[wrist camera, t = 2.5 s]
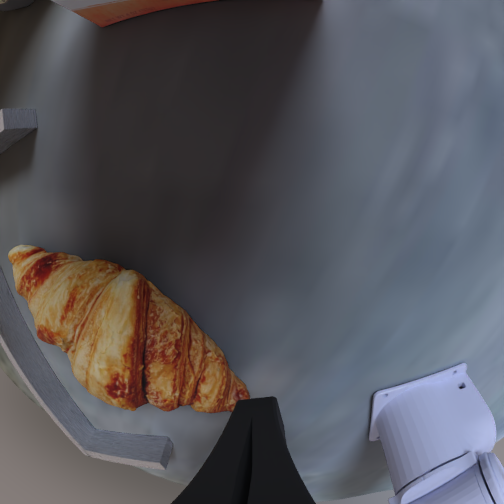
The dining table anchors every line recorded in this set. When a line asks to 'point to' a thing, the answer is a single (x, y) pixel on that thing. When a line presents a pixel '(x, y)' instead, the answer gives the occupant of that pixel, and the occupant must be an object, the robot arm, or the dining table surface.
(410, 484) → the robot arm
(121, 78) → the dining table surface
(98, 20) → the cracker box
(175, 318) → the croissant
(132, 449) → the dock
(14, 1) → the liquor
